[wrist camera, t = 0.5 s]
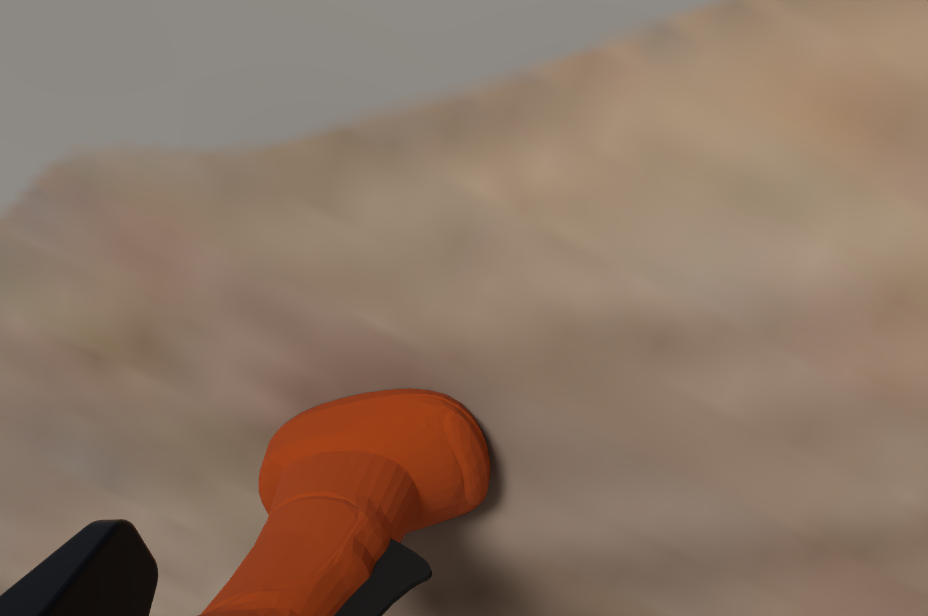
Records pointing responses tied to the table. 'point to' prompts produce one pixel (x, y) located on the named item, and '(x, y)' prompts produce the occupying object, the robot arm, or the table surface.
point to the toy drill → (356, 503)
